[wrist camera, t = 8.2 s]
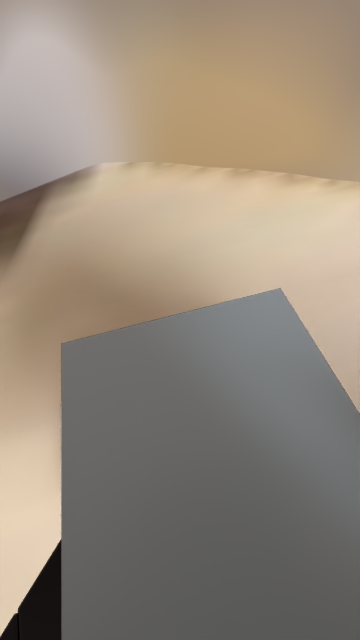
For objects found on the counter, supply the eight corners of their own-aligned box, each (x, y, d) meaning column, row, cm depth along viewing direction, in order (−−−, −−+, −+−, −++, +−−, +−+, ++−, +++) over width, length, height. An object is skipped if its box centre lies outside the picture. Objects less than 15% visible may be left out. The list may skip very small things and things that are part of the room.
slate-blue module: (253, 489, 12) (524, 675, 2) (170, 518, 11) (61, 896, 2) (220, 395, 14) (280, 287, 5) (151, 415, 14) (62, 343, 4)
